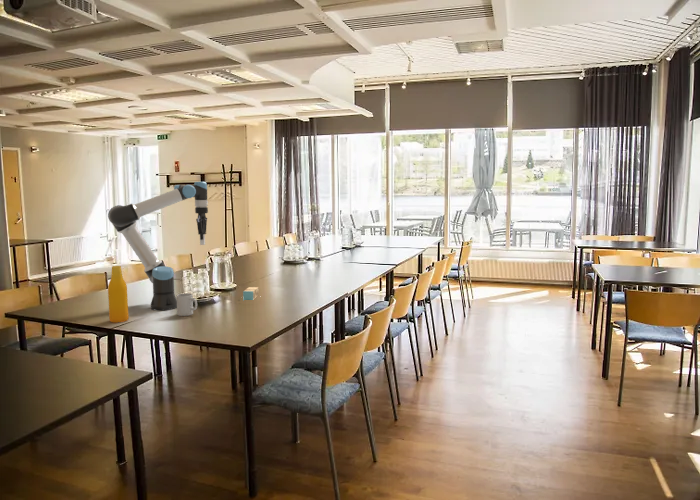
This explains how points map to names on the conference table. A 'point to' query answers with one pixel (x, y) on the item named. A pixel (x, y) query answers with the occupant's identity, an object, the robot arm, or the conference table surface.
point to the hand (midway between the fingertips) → (202, 244)
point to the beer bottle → (117, 297)
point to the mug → (185, 304)
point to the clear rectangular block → (250, 293)
